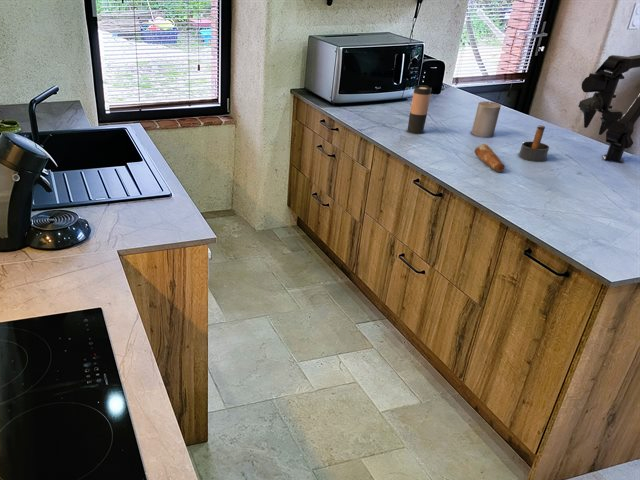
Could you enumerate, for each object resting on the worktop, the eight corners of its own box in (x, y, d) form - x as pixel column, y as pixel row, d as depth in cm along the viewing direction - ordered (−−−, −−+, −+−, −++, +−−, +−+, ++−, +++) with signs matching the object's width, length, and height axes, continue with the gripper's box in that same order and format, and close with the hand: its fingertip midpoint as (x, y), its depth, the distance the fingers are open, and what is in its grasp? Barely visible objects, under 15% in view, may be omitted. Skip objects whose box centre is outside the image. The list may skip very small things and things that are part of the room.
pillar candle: (482, 130, 279) (490, 97, 271) (498, 136, 272) (506, 102, 263) (466, 132, 275) (474, 99, 267) (482, 138, 268) (490, 105, 260)
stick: (529, 154, 249) (537, 124, 242) (536, 155, 248) (545, 125, 242) (528, 156, 247) (537, 126, 240) (536, 157, 246) (545, 127, 239)
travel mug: (405, 132, 273) (413, 88, 263) (408, 128, 279) (415, 84, 268) (422, 134, 271) (430, 90, 260) (424, 130, 277) (433, 86, 266)
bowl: (519, 151, 254) (522, 140, 251) (545, 155, 250) (549, 143, 248) (518, 159, 246) (521, 147, 243) (545, 163, 242) (549, 151, 240)
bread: (487, 156, 248) (490, 143, 244) (505, 173, 232) (509, 159, 229) (472, 156, 247) (475, 143, 244) (489, 173, 231) (493, 159, 228)
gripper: (572, 85, 235) (560, 124, 243) (603, 97, 219) (589, 139, 228) (598, 85, 236) (585, 124, 245) (630, 97, 221) (615, 138, 229)
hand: (592, 131), depth 237 cm, fingers open, 9 cm apart
